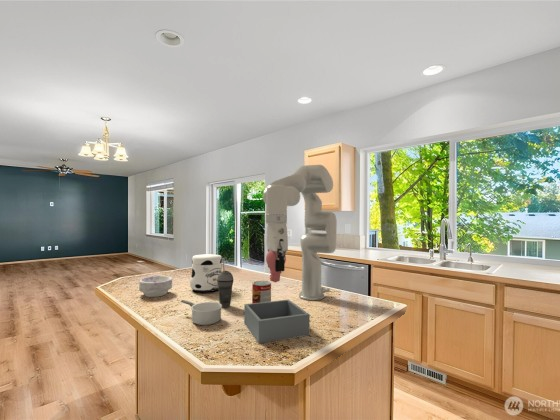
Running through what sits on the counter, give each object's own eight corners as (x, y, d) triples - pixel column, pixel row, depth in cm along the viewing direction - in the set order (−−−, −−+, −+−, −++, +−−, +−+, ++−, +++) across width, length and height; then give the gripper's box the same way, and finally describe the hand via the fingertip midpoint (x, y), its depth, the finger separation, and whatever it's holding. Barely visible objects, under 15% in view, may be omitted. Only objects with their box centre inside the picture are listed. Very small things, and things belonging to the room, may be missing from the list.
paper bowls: (160, 299, 134) (161, 283, 135) (131, 297, 137) (132, 281, 137) (177, 291, 149) (178, 276, 150) (151, 289, 152) (151, 274, 152)
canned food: (262, 307, 125) (262, 279, 125) (274, 311, 120) (275, 283, 120) (248, 311, 120) (248, 282, 120) (260, 316, 114) (260, 286, 114)
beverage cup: (229, 309, 122) (230, 262, 122) (213, 308, 123) (214, 261, 124) (235, 304, 129) (236, 259, 129) (220, 303, 130) (221, 259, 131)
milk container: (219, 294, 145) (219, 258, 145) (185, 293, 145) (185, 258, 145) (225, 286, 162) (226, 254, 162) (195, 285, 162) (196, 253, 162)
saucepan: (192, 310, 121) (192, 296, 121) (228, 319, 110) (228, 305, 111) (169, 318, 111) (169, 303, 111) (205, 329, 101) (206, 313, 101)
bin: (288, 317, 113) (288, 299, 113) (309, 335, 97) (309, 314, 97) (244, 323, 107) (244, 304, 107) (258, 343, 90) (258, 321, 90)
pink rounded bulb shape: (288, 281, 104) (289, 248, 104) (280, 285, 97) (280, 250, 97) (271, 279, 107) (271, 247, 107) (262, 283, 100) (262, 249, 100)
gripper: (296, 220, 96) (295, 273, 95) (277, 219, 112) (276, 264, 112) (275, 220, 93) (274, 274, 93) (259, 219, 109) (258, 265, 109)
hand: (275, 268), depth 102 cm, fingers closed on pink rounded bulb shape, 7 cm apart
